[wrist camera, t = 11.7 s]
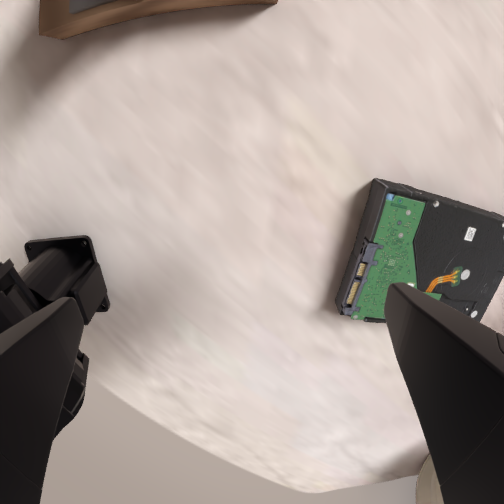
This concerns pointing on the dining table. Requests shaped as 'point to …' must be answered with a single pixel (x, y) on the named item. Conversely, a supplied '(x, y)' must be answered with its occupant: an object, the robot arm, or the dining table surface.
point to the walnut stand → (112, 12)
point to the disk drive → (422, 252)
